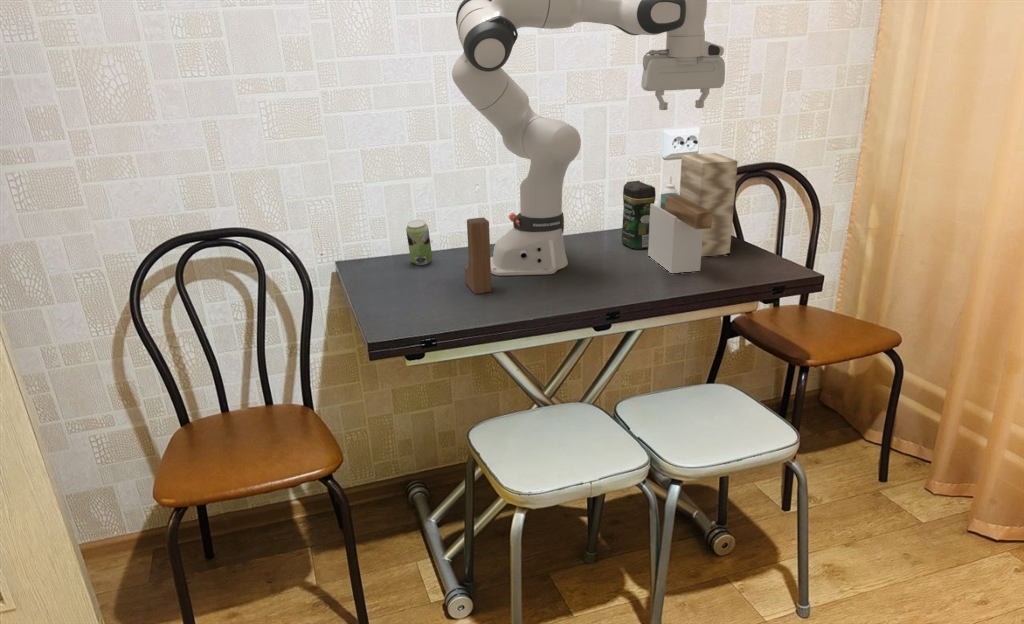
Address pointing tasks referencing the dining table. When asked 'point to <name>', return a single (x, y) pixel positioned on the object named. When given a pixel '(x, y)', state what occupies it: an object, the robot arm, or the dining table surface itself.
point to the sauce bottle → (667, 191)
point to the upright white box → (673, 242)
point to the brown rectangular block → (686, 211)
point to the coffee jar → (637, 214)
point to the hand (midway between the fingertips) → (681, 108)
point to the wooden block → (478, 256)
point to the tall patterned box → (711, 195)
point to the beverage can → (419, 242)
